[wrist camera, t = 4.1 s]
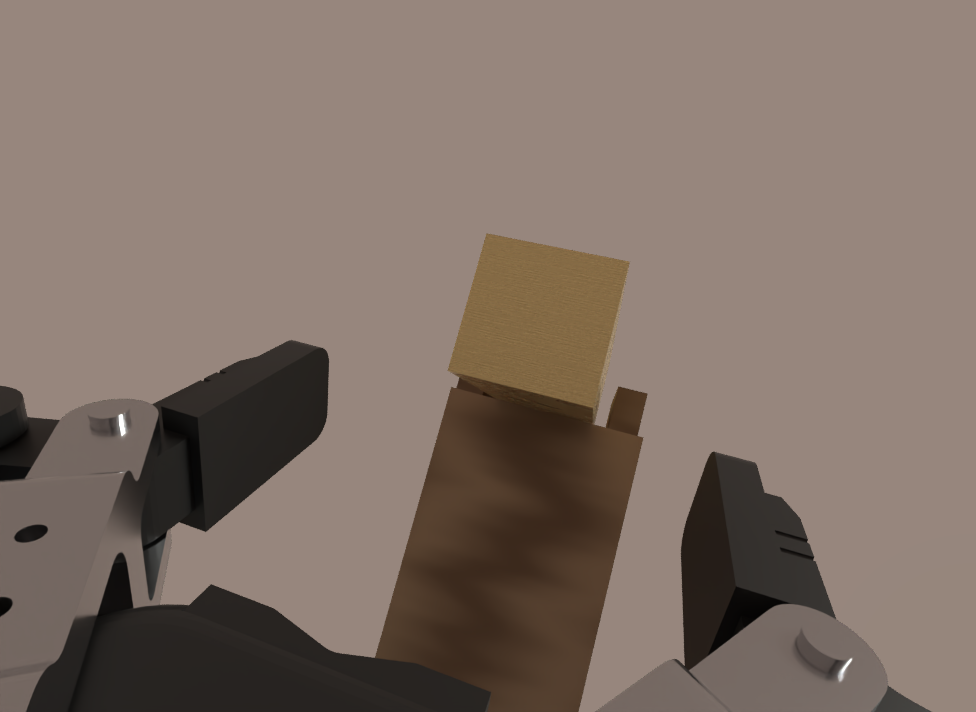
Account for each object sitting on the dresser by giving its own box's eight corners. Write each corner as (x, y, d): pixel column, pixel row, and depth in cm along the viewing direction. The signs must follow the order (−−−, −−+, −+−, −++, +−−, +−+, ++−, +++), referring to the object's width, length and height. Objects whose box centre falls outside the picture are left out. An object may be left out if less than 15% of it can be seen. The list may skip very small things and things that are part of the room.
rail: (592, 433, 27) (609, 364, 28) (593, 408, 13) (629, 261, 13) (523, 414, 28) (540, 347, 29) (447, 370, 13) (486, 233, 14)
